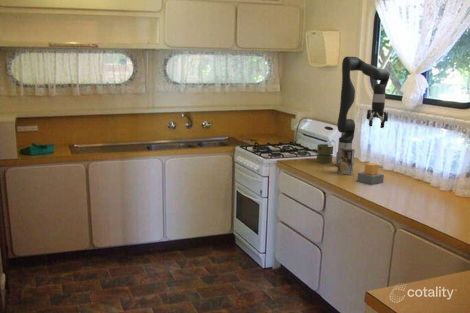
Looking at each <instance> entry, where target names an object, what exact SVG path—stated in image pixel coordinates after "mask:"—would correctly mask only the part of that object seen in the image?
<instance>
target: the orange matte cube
mask: <svg viewBox="0 0 470 313" xmlns="http://www.w3.org/2000/svg"><path fill="white" fill-rule="evenodd" d="M363 172H364V173H365V174H369V175H375V174H378V173H379V164H377V163H373V162H367V163H364V170H363Z"/></svg>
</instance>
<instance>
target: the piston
mask: <svg viewBox="0 0 470 313" xmlns="http://www.w3.org/2000/svg"><path fill="white" fill-rule="evenodd" d="M316 148H317V149H316V153H317V154H316V162H317V163H321V164H332V163H333V154H334V145H332V146H329V144H327V143H326V144H325V143H320V144H317V147H316Z"/></svg>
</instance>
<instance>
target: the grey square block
mask: <svg viewBox="0 0 470 313" xmlns="http://www.w3.org/2000/svg"><path fill="white" fill-rule="evenodd" d="M384 177H385V176H384V173H379V172H378V174H375V175H369V174H365V173H364V171H363V172H362V171H361V172H357V180H356V181H357V182H359V183H364V184H368V185H371V186H372V185H377V184H378V185H379V184H382V183H384Z"/></svg>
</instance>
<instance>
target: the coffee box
mask: <svg viewBox="0 0 470 313" xmlns="http://www.w3.org/2000/svg"><path fill="white" fill-rule="evenodd" d="M354 161H355V149H354V148H352V149H345V148H341V149H339V159H338V166H337V174H341V175H348V176H351V175H353V174H354V165H355V164H354V163H355V162H354Z"/></svg>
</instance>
